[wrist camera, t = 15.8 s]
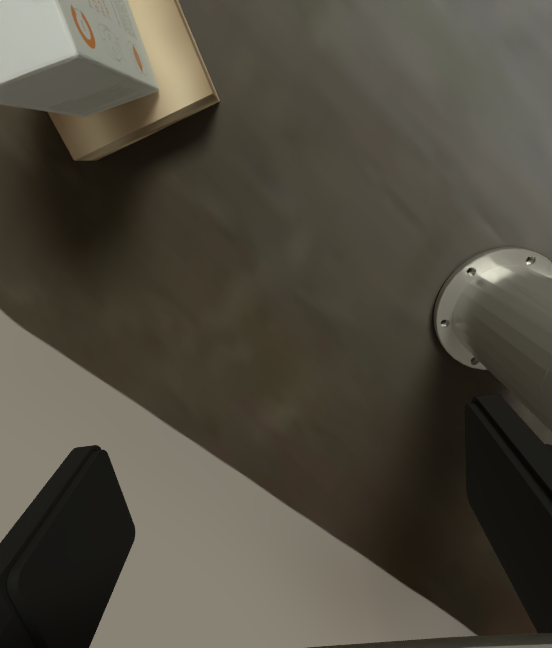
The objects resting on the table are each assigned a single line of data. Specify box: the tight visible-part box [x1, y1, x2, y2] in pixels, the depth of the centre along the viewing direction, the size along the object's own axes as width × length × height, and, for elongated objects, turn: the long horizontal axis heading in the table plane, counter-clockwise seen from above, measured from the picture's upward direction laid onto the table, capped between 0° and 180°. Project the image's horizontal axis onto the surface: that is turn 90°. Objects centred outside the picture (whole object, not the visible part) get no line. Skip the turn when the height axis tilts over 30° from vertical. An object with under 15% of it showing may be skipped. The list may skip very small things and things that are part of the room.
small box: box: [0, 0, 159, 117], centre depth 24 cm, size 8×6×13 cm
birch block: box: [48, 0, 220, 161], centre depth 33 cm, size 12×12×5 cm
